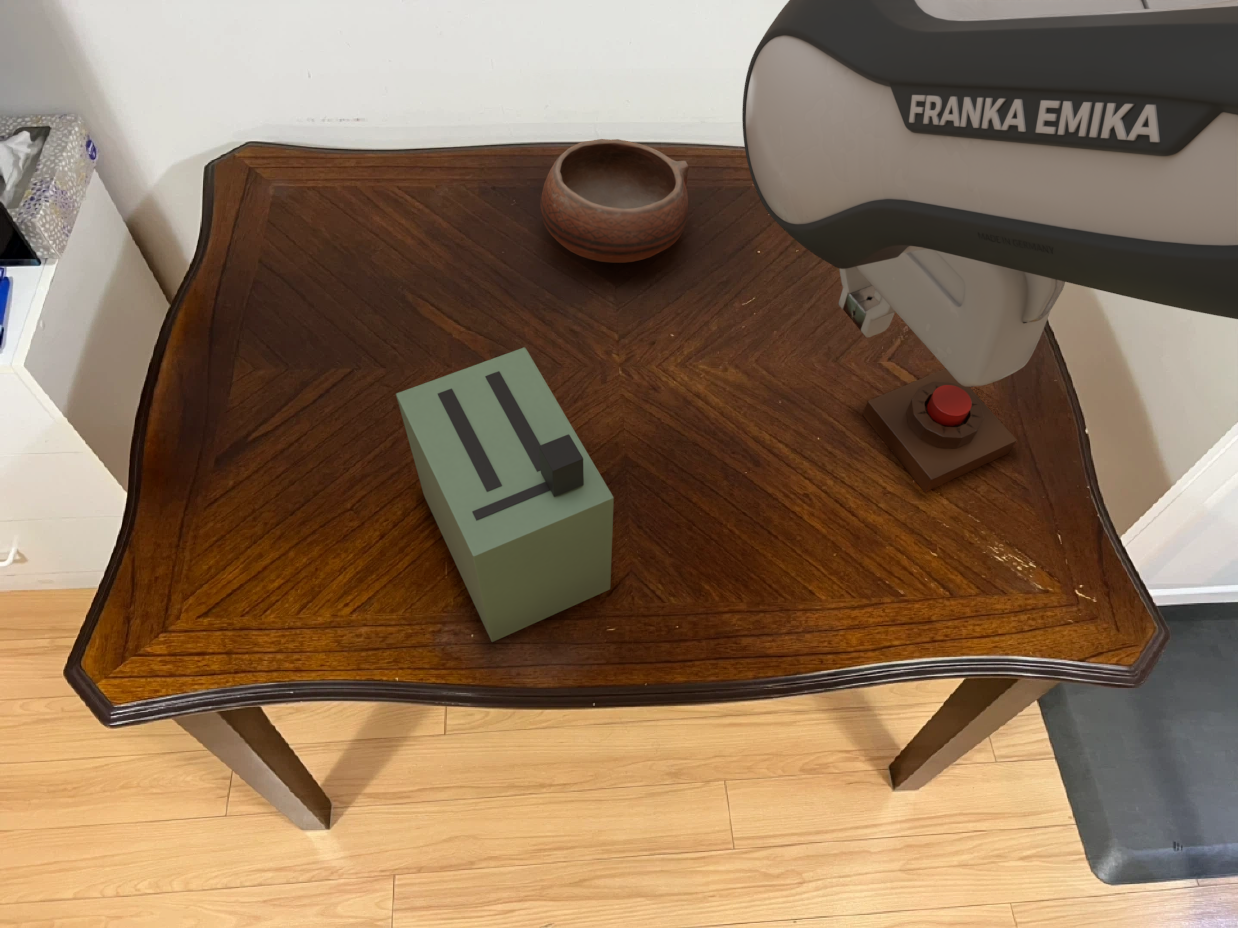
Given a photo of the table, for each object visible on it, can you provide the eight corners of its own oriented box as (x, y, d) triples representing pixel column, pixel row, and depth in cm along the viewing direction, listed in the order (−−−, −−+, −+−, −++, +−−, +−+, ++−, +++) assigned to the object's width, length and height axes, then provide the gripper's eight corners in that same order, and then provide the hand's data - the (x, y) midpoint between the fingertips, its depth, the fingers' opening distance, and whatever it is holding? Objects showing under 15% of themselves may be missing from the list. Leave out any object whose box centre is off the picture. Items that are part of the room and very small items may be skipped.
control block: (1008, 453, 91) (1024, 429, 87) (924, 492, 88) (937, 468, 85) (943, 379, 95) (956, 353, 92) (862, 414, 93) (872, 389, 89)
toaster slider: (584, 485, 69) (583, 458, 66) (554, 497, 69) (552, 471, 66) (570, 460, 71) (569, 433, 68) (540, 472, 70) (538, 445, 67)
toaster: (610, 589, 82) (614, 497, 69) (491, 642, 79) (472, 556, 66) (534, 451, 89) (525, 345, 77) (423, 495, 86) (395, 392, 74)
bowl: (706, 220, 107) (716, 147, 99) (647, 311, 100) (652, 240, 91) (584, 177, 111) (583, 102, 103) (517, 262, 103) (510, 189, 95)
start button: (973, 418, 88) (980, 407, 87) (942, 432, 87) (948, 421, 86) (949, 391, 90) (955, 379, 89) (919, 404, 89) (924, 392, 88)
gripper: (1130, 240, 42) (1014, 424, 53) (863, 3, 52) (813, 202, 63) (1020, 285, 40) (924, 465, 52) (765, 31, 50) (732, 230, 62)
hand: (862, 318), depth 58 cm, fingers closed
